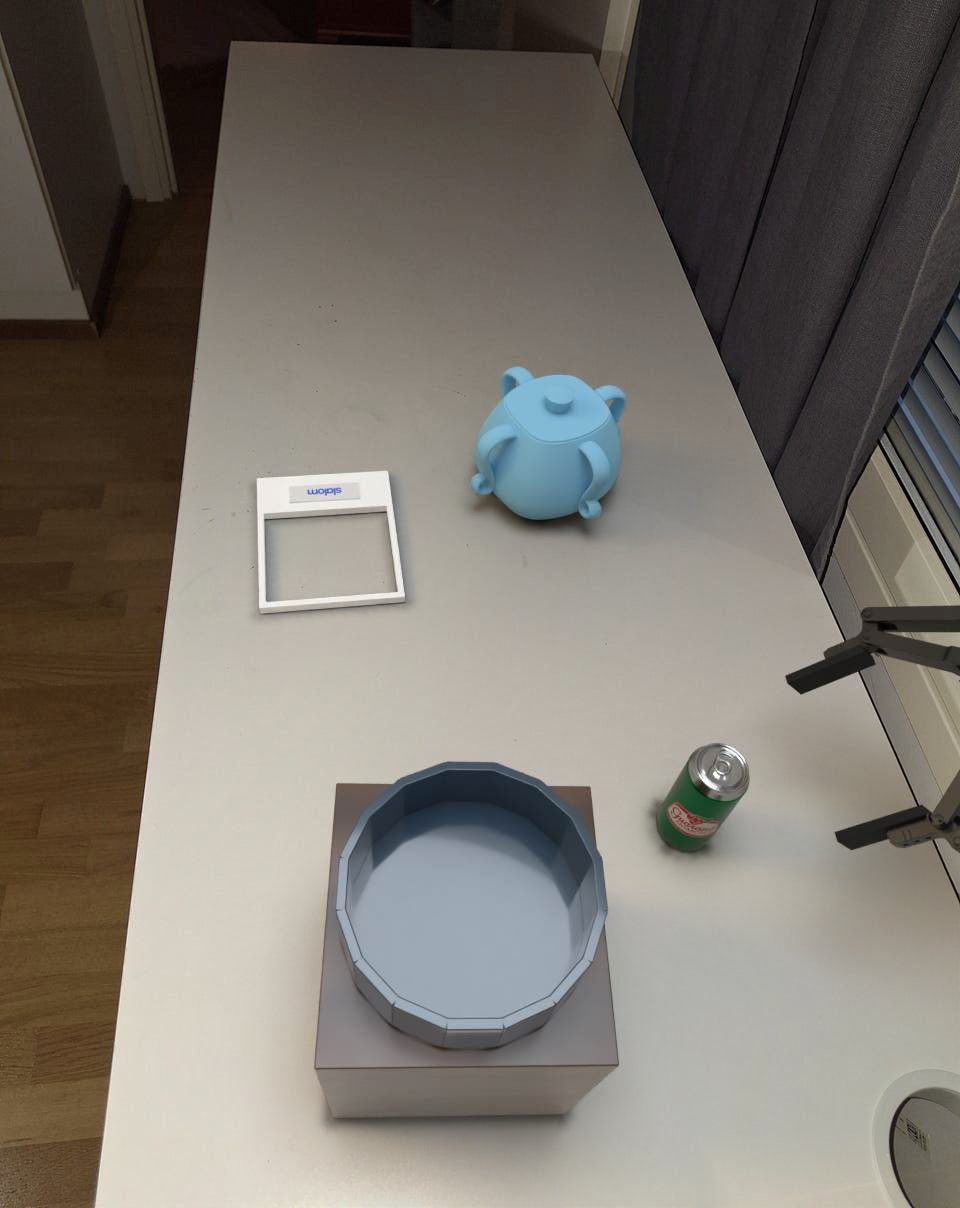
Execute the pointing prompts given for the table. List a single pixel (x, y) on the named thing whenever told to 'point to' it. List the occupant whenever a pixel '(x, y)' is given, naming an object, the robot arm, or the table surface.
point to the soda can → (703, 796)
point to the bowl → (469, 903)
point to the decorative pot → (550, 445)
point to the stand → (445, 1075)
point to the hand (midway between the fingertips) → (816, 759)
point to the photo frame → (325, 499)
